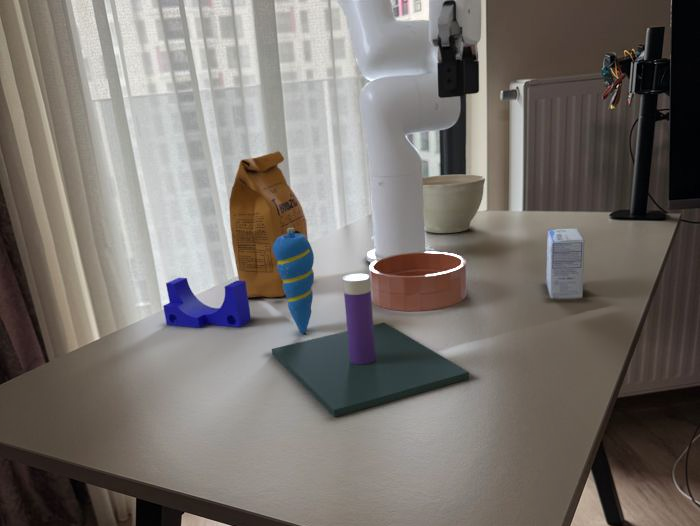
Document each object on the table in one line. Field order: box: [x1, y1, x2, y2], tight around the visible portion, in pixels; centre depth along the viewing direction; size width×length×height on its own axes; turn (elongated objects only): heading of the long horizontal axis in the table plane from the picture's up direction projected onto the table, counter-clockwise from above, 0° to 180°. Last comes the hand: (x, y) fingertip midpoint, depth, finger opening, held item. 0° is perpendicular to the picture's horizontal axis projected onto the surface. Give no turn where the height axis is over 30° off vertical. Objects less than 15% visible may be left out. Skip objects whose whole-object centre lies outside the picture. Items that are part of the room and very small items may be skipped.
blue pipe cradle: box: [162, 277, 252, 329], centre depth 95 cm, size 12×4×6 cm, turn 65°
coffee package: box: [229, 150, 309, 299], centre depth 104 cm, size 10×12×22 cm
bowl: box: [368, 251, 468, 312], centre depth 97 cm, size 14×14×6 cm
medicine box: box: [545, 228, 585, 299], centre depth 93 cm, size 8×4×9 cm, turn 168°
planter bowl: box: [423, 174, 486, 234], centre depth 140 cm, size 16×16×11 cm
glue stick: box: [342, 273, 376, 365], centre depth 74 cm, size 3×3×10 cm
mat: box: [271, 322, 470, 418], centre depth 76 cm, size 20×16×1 cm
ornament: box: [273, 224, 315, 335], centre depth 85 cm, size 5×5×15 cm
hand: (459, 95), depth 84 cm, fingers open, 9 cm apart
